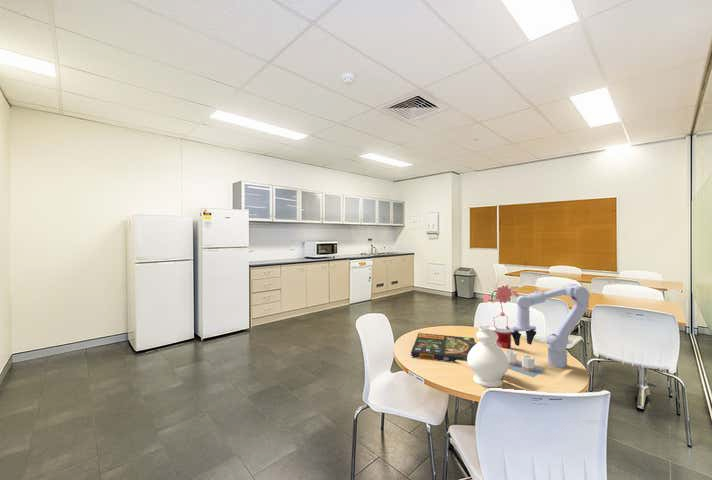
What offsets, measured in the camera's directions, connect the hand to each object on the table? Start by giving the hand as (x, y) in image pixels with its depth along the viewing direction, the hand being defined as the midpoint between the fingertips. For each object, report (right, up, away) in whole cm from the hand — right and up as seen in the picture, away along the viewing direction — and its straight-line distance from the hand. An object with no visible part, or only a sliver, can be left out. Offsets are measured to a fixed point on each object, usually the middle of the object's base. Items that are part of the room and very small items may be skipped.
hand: (523, 344), depth 158 cm
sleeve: (-3, -9, -9) cm, 13 cm away
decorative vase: (-27, -11, -18) cm, 34 cm away
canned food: (+1, -11, +23) cm, 25 cm away
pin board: (-5, -11, -6) cm, 13 cm away
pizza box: (-35, -12, +22) cm, 43 cm away
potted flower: (+12, -10, +43) cm, 46 cm away
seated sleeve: (-8, -9, -2) cm, 12 cm away
